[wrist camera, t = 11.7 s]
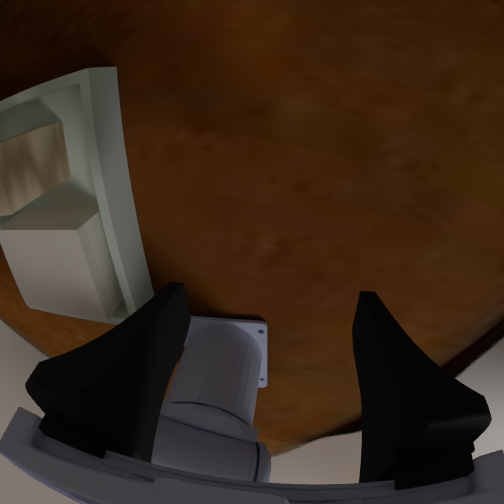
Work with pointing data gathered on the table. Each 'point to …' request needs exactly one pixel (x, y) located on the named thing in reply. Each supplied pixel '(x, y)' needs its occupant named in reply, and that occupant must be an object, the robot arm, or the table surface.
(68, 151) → the pale green tray
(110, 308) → the light gray block
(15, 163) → the maple block
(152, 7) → the table surface
